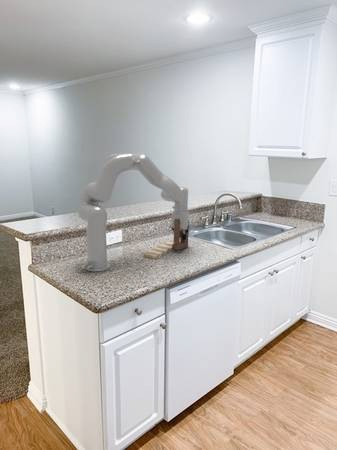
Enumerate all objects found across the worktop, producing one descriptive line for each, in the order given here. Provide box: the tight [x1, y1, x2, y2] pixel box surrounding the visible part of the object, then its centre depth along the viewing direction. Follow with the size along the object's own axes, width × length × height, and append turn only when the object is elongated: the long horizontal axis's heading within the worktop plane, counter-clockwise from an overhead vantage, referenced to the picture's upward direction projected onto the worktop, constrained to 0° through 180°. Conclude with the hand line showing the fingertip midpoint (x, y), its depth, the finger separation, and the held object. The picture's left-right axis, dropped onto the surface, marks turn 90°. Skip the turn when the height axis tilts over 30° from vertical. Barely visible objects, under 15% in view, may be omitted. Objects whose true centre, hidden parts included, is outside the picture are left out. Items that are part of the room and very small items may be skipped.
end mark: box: [170, 245, 190, 254], centre depth 203 cm, size 14×6×1 cm, turn 153°
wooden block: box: [172, 219, 190, 251], centre depth 201 cm, size 4×11×18 cm, turn 138°
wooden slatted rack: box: [142, 240, 174, 260], centre depth 199 cm, size 30×8×2 cm, turn 153°
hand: (180, 239), depth 202 cm, fingers closed on wooden block, 4 cm apart
